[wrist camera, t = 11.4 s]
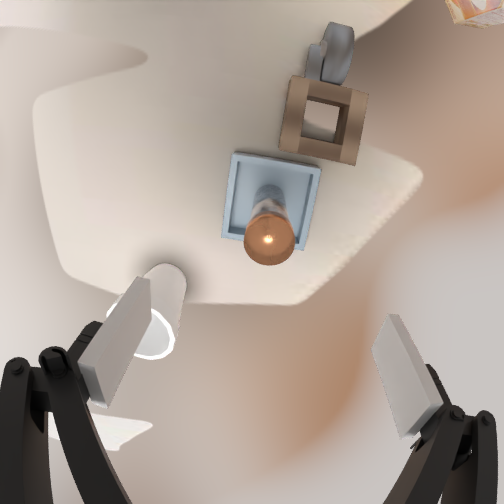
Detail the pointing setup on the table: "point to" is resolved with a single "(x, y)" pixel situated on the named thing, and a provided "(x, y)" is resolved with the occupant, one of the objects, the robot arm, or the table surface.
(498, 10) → the coffeecake box
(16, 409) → the robot arm
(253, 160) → the tray
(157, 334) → the foam cup
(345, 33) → the pulley block
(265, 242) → the pin
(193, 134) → the table surface
